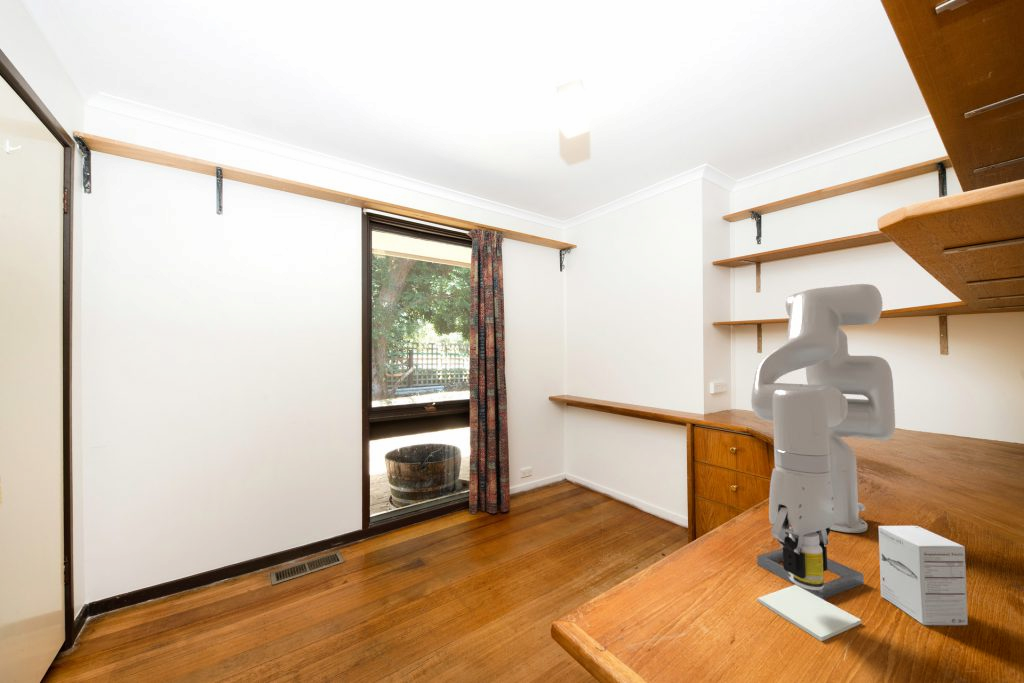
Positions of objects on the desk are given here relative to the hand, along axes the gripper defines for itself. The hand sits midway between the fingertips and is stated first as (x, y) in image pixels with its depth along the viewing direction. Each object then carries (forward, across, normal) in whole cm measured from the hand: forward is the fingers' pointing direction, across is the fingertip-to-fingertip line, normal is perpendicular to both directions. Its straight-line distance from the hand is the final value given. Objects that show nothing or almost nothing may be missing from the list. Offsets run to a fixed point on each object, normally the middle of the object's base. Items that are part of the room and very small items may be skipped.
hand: (805, 569), depth 64 cm
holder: (+7, -12, -7) cm, 16 cm away
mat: (+7, 0, 0) cm, 7 cm away
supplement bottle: (+2, 0, 0) cm, 2 cm away
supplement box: (+7, -18, +7) cm, 21 cm away
